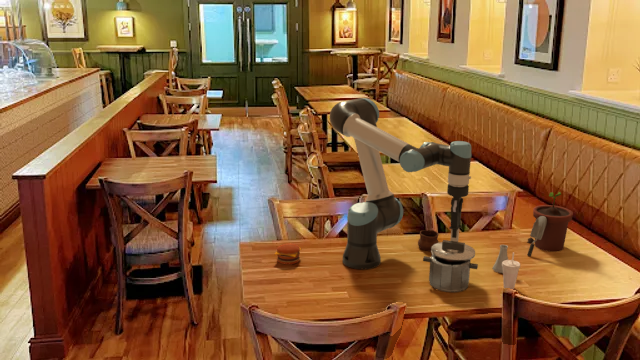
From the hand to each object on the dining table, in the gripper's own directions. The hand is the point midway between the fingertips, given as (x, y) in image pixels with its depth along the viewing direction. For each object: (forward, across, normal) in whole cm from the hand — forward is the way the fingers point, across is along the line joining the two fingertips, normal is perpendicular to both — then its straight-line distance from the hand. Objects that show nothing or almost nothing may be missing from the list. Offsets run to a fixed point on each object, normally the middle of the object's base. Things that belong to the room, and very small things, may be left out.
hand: (454, 244), depth 233 cm
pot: (+13, -7, 0) cm, 15 cm away
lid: (+3, -2, 0) cm, 3 cm away
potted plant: (+13, +43, -32) cm, 55 cm away
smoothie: (+13, -2, -21) cm, 25 cm away
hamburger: (+13, -8, +64) cm, 66 cm away
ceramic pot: (+14, +25, +14) cm, 32 cm away
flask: (+13, +13, -17) cm, 25 cm away
